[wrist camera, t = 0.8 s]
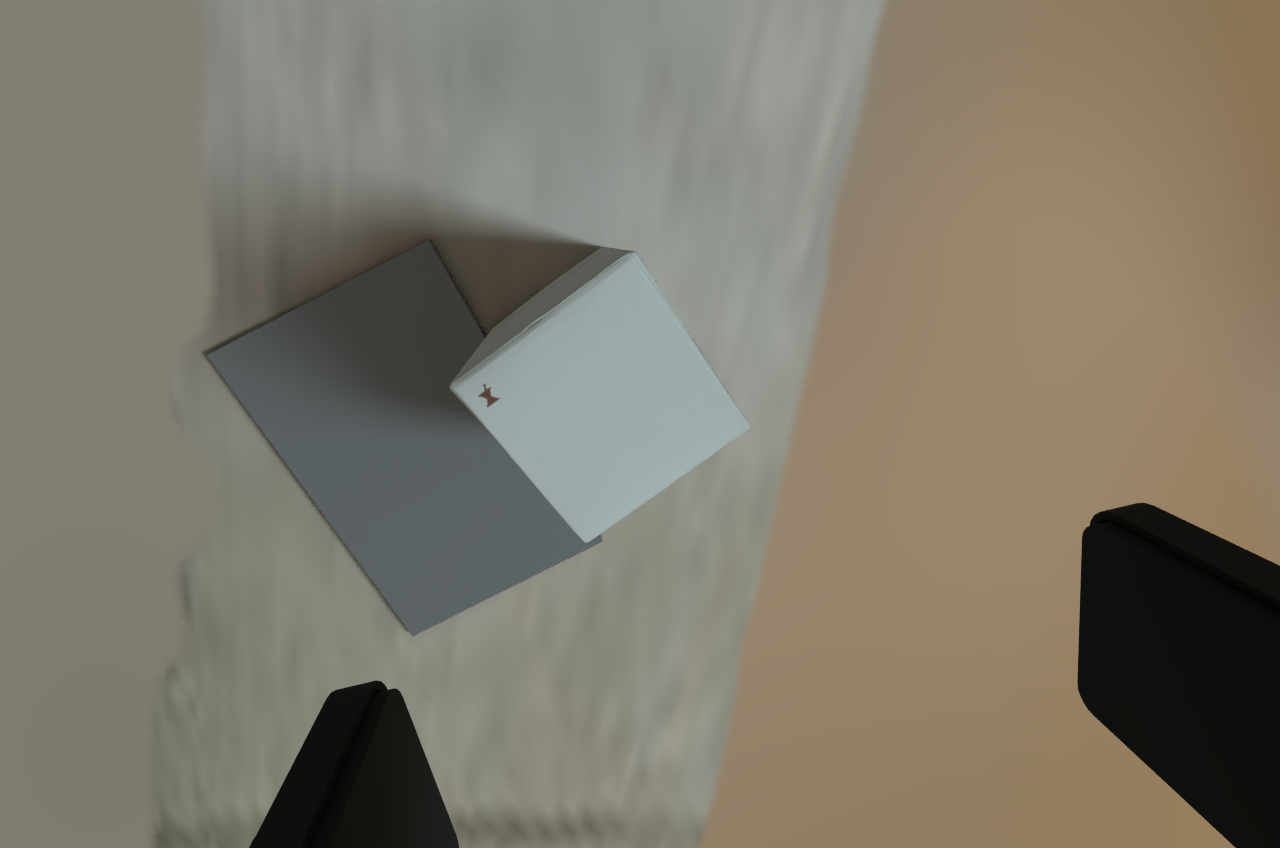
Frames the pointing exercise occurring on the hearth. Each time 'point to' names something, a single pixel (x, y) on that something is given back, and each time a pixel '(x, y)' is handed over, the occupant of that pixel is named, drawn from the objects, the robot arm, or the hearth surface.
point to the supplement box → (599, 392)
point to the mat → (398, 439)
